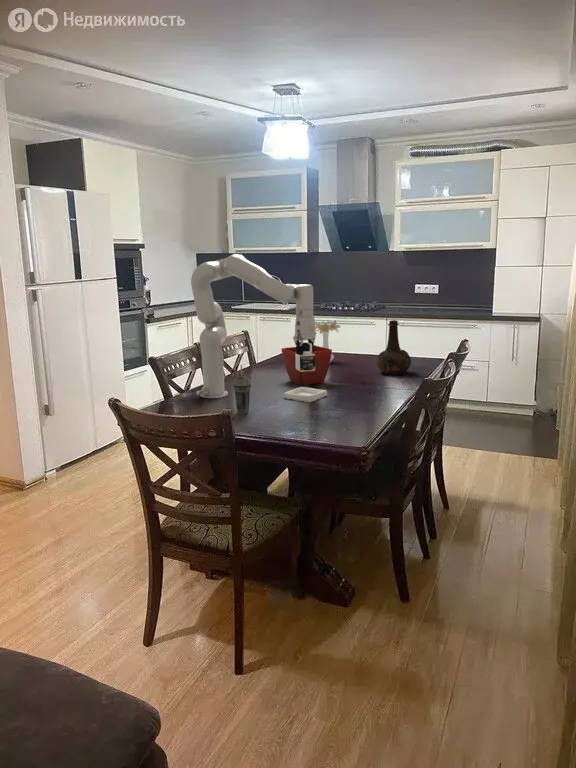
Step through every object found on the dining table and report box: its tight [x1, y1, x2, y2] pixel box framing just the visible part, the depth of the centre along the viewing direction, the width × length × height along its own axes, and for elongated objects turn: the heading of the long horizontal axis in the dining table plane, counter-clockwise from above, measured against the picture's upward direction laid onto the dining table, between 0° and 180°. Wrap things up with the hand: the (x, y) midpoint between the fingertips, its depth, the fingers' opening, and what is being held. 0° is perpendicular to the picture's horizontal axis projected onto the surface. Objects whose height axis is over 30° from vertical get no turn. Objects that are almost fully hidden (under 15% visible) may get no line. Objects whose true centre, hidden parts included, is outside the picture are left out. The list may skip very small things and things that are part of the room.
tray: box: [283, 386, 328, 404], centre depth 261 cm, size 14×14×2 cm
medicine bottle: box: [295, 342, 315, 372], centre depth 257 cm, size 7×7×12 cm
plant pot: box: [281, 344, 333, 386], centre depth 289 cm, size 19×19×17 cm
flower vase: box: [315, 319, 341, 364], centre depth 338 cm, size 13×18×25 cm
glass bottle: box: [375, 319, 412, 376], centre depth 306 cm, size 18×18×28 cm
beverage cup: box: [232, 364, 252, 415], centre depth 235 cm, size 7×7×20 cm
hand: (305, 352), depth 257 cm, fingers closed on medicine bottle, 7 cm apart
